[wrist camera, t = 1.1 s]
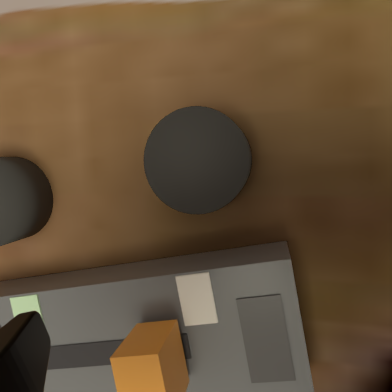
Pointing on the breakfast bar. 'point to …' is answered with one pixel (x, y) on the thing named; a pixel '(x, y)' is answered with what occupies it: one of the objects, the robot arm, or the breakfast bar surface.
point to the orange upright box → (151, 359)
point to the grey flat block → (170, 310)
